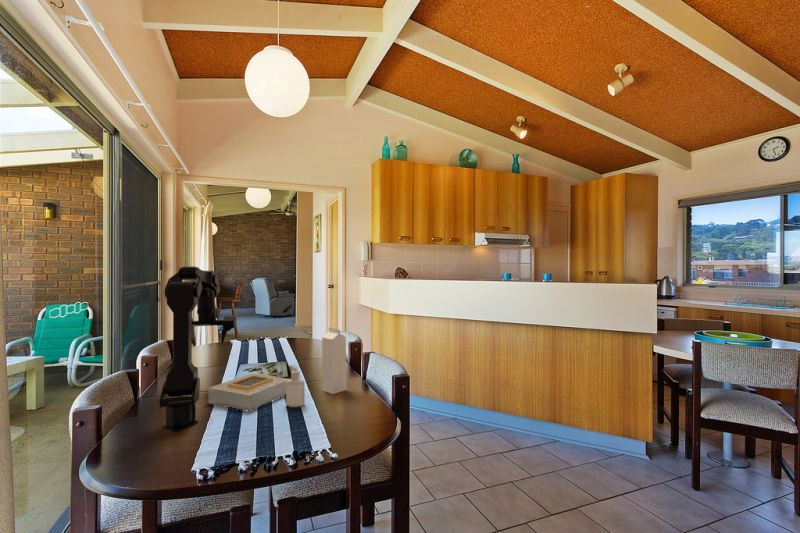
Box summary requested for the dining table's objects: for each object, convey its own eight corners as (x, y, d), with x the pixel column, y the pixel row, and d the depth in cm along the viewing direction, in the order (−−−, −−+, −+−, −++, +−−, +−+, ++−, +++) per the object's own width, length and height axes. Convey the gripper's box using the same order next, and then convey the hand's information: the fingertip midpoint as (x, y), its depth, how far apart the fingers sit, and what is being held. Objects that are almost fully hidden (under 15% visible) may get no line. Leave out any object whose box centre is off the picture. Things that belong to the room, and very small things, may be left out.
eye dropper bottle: (297, 409, 115) (296, 370, 115) (283, 406, 118) (283, 368, 118) (306, 404, 119) (306, 366, 119) (293, 401, 122) (293, 364, 122)
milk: (332, 394, 128) (332, 330, 128) (322, 390, 132) (321, 328, 132) (346, 390, 133) (346, 327, 133) (336, 386, 137) (335, 326, 137)
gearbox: (249, 412, 113) (249, 392, 113) (208, 403, 121) (208, 385, 121) (300, 389, 134) (299, 373, 134) (262, 383, 142) (262, 367, 142)
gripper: (237, 296, 144) (239, 334, 147) (183, 298, 139) (186, 337, 142) (233, 306, 133) (235, 347, 137) (174, 308, 128) (178, 350, 132)
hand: (209, 345), depth 137 cm, fingers open, 9 cm apart
